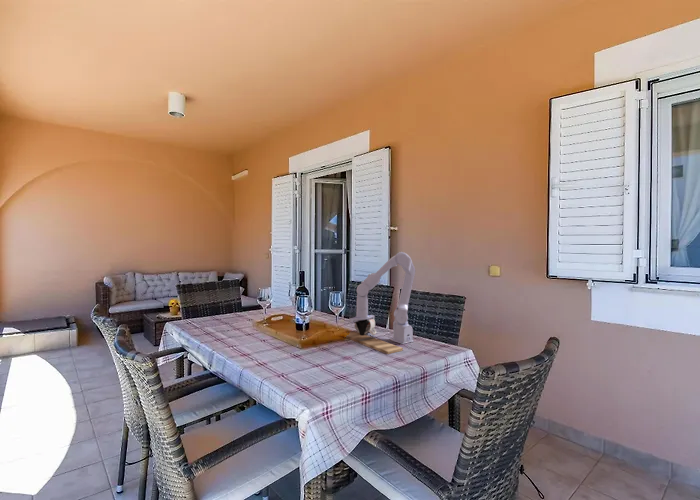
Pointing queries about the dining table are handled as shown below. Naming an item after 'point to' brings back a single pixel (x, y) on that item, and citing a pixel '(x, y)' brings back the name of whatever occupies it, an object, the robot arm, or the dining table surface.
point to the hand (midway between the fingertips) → (361, 335)
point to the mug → (368, 327)
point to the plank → (357, 336)
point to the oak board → (381, 345)
